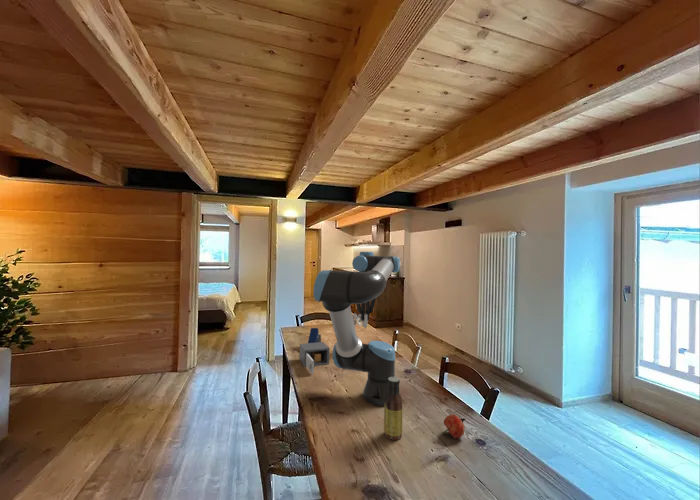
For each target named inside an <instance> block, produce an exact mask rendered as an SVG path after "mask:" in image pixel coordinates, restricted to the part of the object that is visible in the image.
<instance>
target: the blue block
mask: <svg viewBox="0 0 700 500" xmlns="http://www.w3.org/2000/svg"><path fill="white" fill-rule="evenodd" d="M317 342H322V335H321V334H320V333H319V328H318V327H311V328H310V331H309V336H308V341H307V343H317Z"/></svg>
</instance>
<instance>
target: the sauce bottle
mask: <svg viewBox="0 0 700 500" xmlns="http://www.w3.org/2000/svg"><path fill="white" fill-rule="evenodd" d="M400 382H401V379H400V378H399V377H397V376H395V377H389V378H388V392H387V395H386V398H385V401H384V406H383V408H384V409H383V410H384V411H383V413H384V415H383V417H384V420H383V427H384V428H383V430H384V436H385V437H386V438H387V439H389V440H391V439H392V441H398V440H400V439H401V438H402V437H403V436H402V434H403V411H404V410H403V406H404V405H403V397H402V395H401V393H400ZM397 439H398V440H397Z"/></svg>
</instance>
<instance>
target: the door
mask: <svg viewBox="0 0 700 500" xmlns="http://www.w3.org/2000/svg"><path fill="white" fill-rule="evenodd" d="M314 367H315V366H314V360H313V359H312V358H311V357H310V355H309V354H308V353H306V367H305V368H307V369H308V371H309V373H310V374H311V375H314V374H315V373H314V372H315V368H314Z"/></svg>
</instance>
